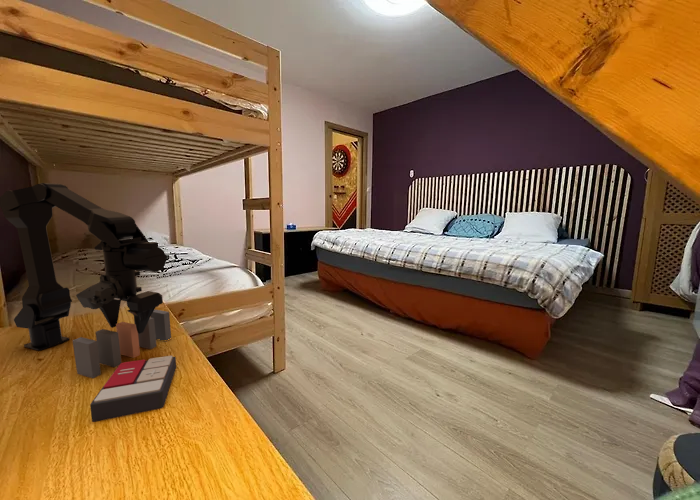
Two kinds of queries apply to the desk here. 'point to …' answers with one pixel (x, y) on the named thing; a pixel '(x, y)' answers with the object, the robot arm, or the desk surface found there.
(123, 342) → the domino
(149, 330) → the domino
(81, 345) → the domino
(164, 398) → the calculator
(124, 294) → the robot arm
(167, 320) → the domino
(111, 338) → the domino
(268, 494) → the desk surface
